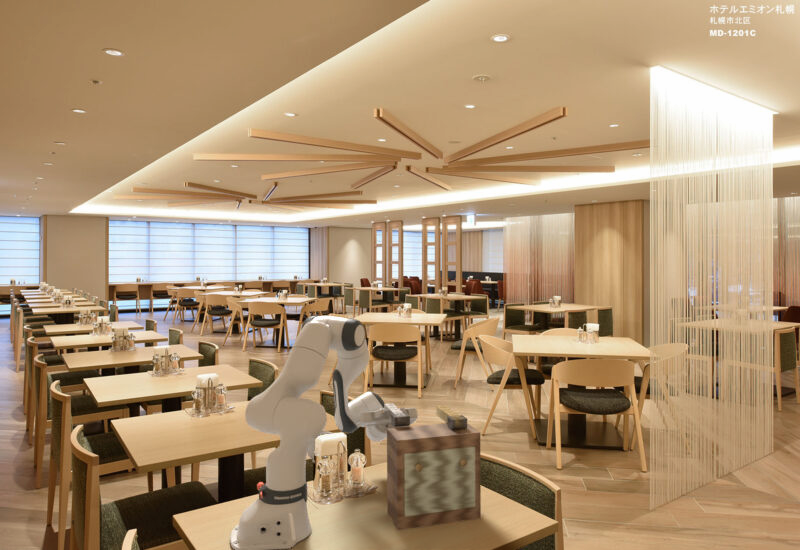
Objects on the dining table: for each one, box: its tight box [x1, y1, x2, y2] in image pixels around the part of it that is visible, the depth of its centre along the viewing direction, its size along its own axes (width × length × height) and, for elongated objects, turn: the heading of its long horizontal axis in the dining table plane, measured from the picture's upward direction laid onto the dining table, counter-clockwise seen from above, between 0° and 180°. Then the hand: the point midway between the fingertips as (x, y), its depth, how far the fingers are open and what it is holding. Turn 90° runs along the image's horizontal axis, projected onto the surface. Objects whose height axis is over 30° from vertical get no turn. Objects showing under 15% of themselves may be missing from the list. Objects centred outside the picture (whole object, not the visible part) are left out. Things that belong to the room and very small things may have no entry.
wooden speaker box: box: [386, 422, 482, 531], centre depth 161 cm, size 26×14×26 cm, turn 106°
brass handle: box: [435, 404, 468, 430], centre depth 170 cm, size 5×17×3 cm, turn 16°
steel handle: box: [384, 402, 411, 427], centre depth 174 cm, size 5×17×3 cm, turn 16°
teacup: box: [307, 430, 333, 464], centre depth 209 cm, size 12×15×10 cm
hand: (392, 410), depth 176 cm, fingers open, 6 cm apart
